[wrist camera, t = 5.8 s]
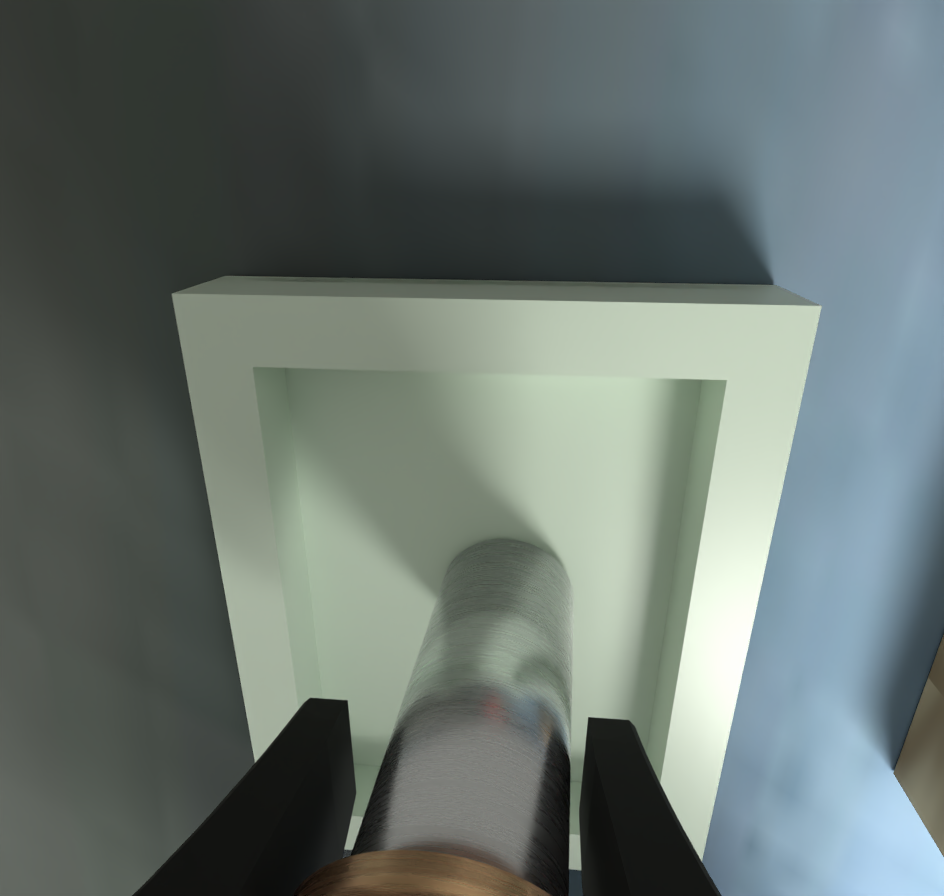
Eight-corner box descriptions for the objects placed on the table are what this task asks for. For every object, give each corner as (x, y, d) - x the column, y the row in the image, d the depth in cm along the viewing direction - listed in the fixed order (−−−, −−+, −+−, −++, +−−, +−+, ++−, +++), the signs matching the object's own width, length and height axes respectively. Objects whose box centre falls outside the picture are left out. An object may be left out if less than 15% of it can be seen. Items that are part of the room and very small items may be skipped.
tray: (679, 802, 17) (697, 881, 15) (296, 772, 17) (269, 842, 16) (775, 284, 11) (821, 305, 10) (225, 275, 12) (171, 293, 10)
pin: (591, 674, 14) (601, 1202, 7) (423, 656, 15) (268, 1129, 7) (605, 525, 13) (638, 1001, 5) (417, 510, 13) (217, 925, 6)
